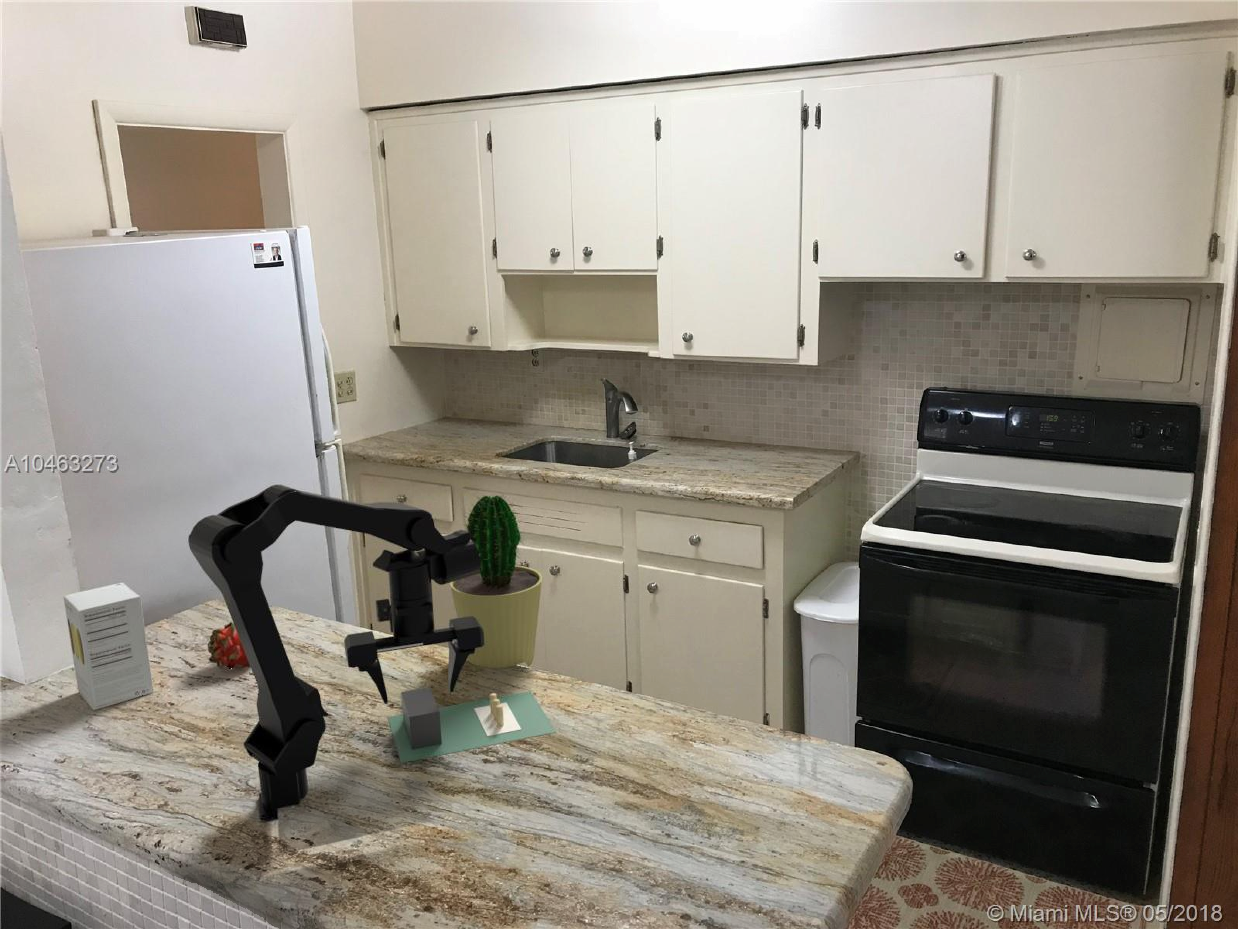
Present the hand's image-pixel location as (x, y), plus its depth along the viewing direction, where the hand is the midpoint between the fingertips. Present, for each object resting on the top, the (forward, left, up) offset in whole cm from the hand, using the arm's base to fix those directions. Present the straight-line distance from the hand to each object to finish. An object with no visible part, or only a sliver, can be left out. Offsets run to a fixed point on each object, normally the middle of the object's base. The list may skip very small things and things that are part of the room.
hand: (418, 697), depth 139 cm
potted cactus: (+23, -17, -8) cm, 30 cm away
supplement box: (+36, +44, -8) cm, 57 cm away
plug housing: (+1, 0, -6) cm, 6 cm away
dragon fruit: (+40, +25, -8) cm, 48 cm away
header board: (0, -7, -7) cm, 10 cm away
